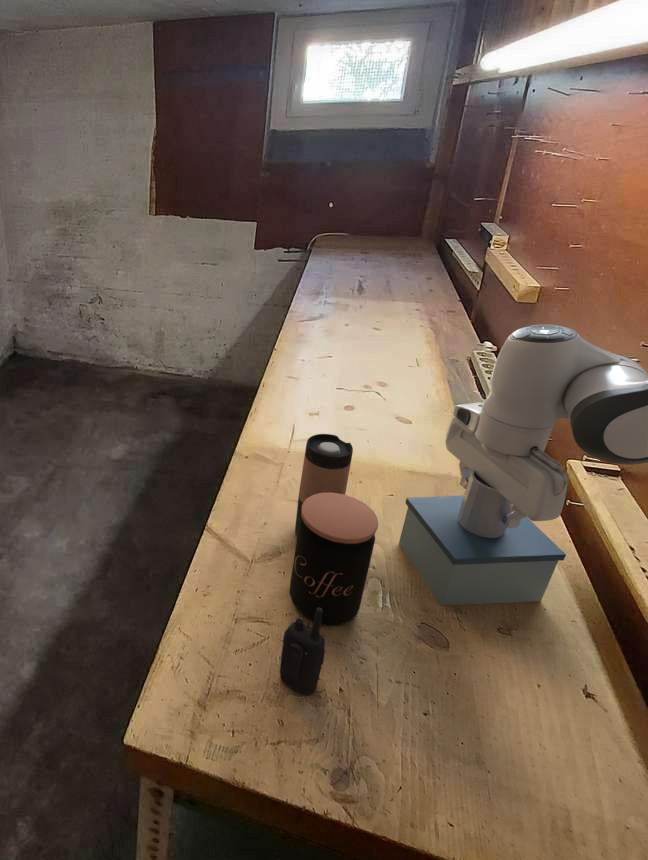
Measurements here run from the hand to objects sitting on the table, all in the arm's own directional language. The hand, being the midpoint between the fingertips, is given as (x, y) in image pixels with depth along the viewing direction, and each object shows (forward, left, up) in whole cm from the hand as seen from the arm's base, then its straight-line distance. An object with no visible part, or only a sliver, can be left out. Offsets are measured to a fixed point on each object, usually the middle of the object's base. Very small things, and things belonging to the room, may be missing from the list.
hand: (487, 505), depth 89 cm
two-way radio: (+29, +28, -14) cm, 43 cm away
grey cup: (0, 0, -4) cm, 4 cm away
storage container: (0, 0, -14) cm, 14 cm away
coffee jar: (+24, +12, -14) cm, 30 cm away
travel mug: (+24, -4, -14) cm, 28 cm away
